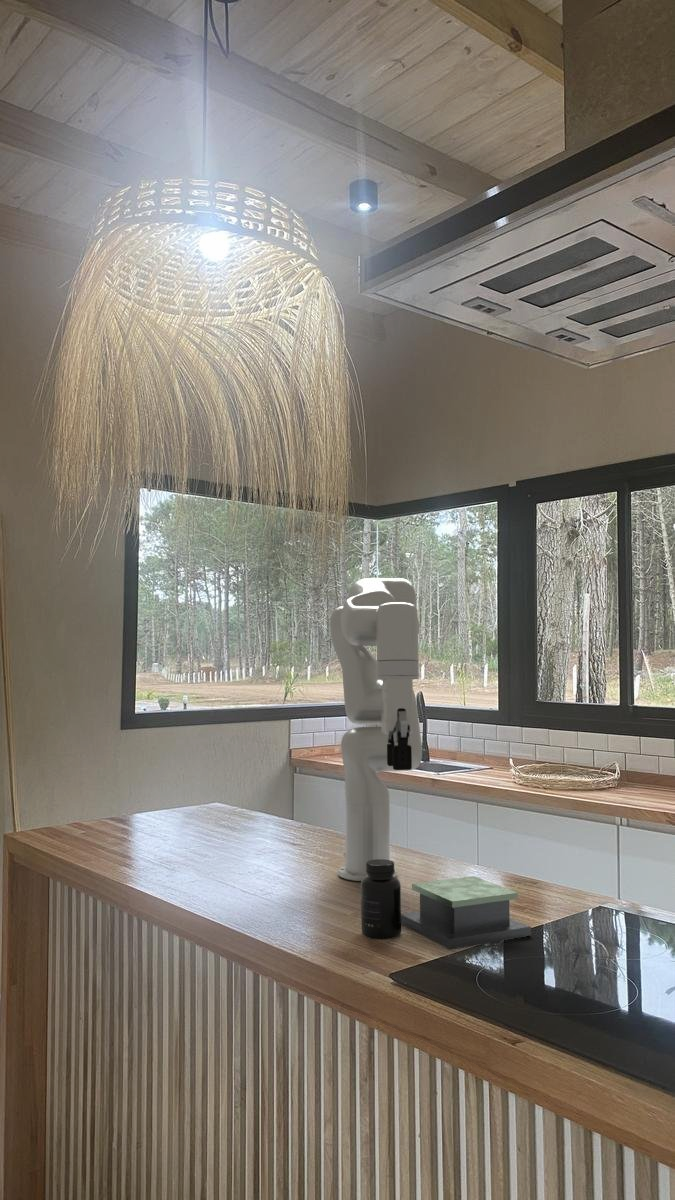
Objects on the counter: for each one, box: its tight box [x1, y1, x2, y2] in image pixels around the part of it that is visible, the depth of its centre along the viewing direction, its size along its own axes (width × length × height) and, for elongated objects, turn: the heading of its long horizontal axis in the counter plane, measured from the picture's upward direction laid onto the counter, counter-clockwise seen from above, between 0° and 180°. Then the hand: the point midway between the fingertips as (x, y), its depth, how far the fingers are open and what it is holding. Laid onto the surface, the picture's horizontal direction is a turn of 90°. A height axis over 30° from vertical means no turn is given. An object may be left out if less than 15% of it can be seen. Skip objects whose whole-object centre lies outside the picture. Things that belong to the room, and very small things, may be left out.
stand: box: [401, 875, 532, 950], centre depth 155 cm, size 16×16×7 cm
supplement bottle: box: [360, 859, 403, 940], centre depth 153 cm, size 7×7×12 cm
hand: (399, 767), depth 161 cm, fingers open, 9 cm apart
